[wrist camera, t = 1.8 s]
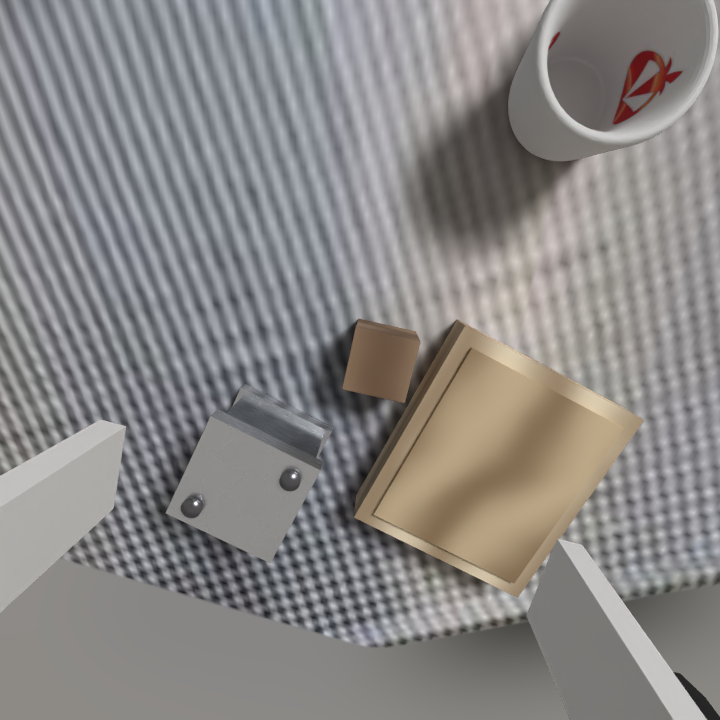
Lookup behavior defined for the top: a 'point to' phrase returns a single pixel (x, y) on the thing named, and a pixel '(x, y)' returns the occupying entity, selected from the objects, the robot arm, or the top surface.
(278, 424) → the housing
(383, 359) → the walnut block
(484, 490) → the tan square tray
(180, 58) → the top surface
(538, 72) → the cup
